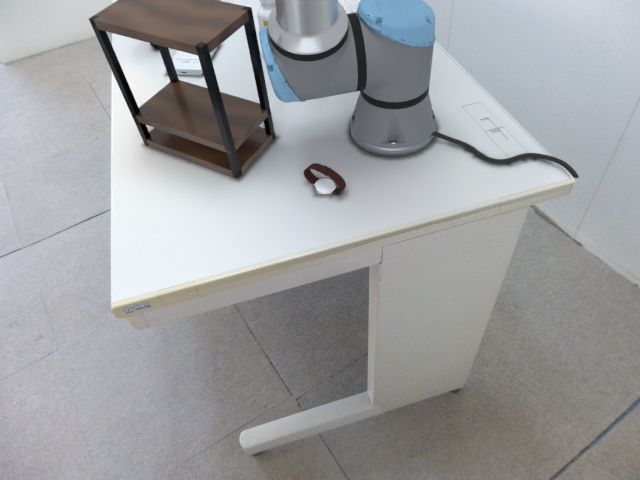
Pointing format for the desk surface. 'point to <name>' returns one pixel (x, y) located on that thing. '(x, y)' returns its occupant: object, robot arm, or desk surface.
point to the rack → (185, 98)
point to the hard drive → (188, 63)
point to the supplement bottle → (265, 11)
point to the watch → (325, 184)
